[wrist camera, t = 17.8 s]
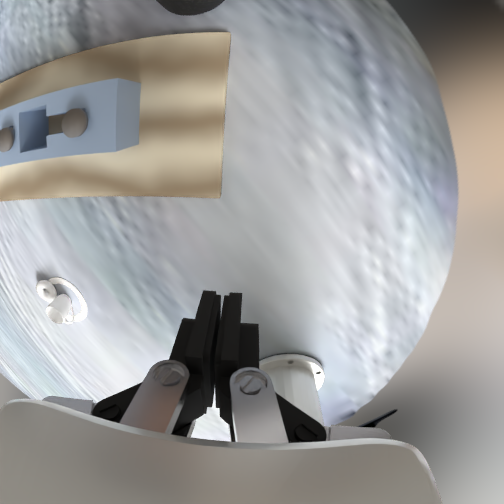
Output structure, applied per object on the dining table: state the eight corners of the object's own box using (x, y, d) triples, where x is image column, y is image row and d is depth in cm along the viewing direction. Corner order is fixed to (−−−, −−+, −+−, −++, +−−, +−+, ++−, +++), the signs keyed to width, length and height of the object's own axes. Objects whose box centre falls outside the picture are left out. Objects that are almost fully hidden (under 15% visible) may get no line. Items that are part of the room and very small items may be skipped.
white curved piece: (36, 282, 32) (22, 297, 29) (61, 262, 31) (45, 278, 27) (70, 324, 36) (59, 341, 32) (98, 311, 34) (87, 329, 31)
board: (220, 194, 27) (212, 221, 20) (1, 198, 25) (-33, 218, 19) (231, 35, 19) (224, 9, 13) (-5, 88, 18) (-42, 93, 12)
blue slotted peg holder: (139, 144, 23) (116, 151, 19) (-2, 162, 22) (-28, 173, 18) (141, 83, 20) (118, 77, 16) (-4, 118, 19) (-31, 124, 15)
